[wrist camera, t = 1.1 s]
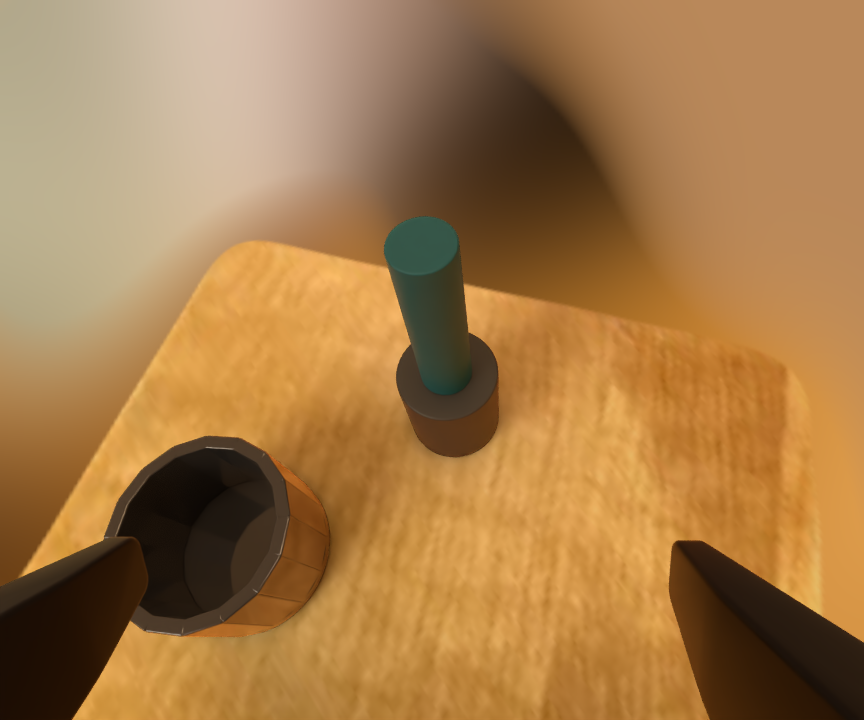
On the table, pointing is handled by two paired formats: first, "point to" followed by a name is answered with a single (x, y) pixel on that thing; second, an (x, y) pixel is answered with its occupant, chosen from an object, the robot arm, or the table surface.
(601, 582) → the table surface
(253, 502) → the tumbler
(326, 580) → the table surface
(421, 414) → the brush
